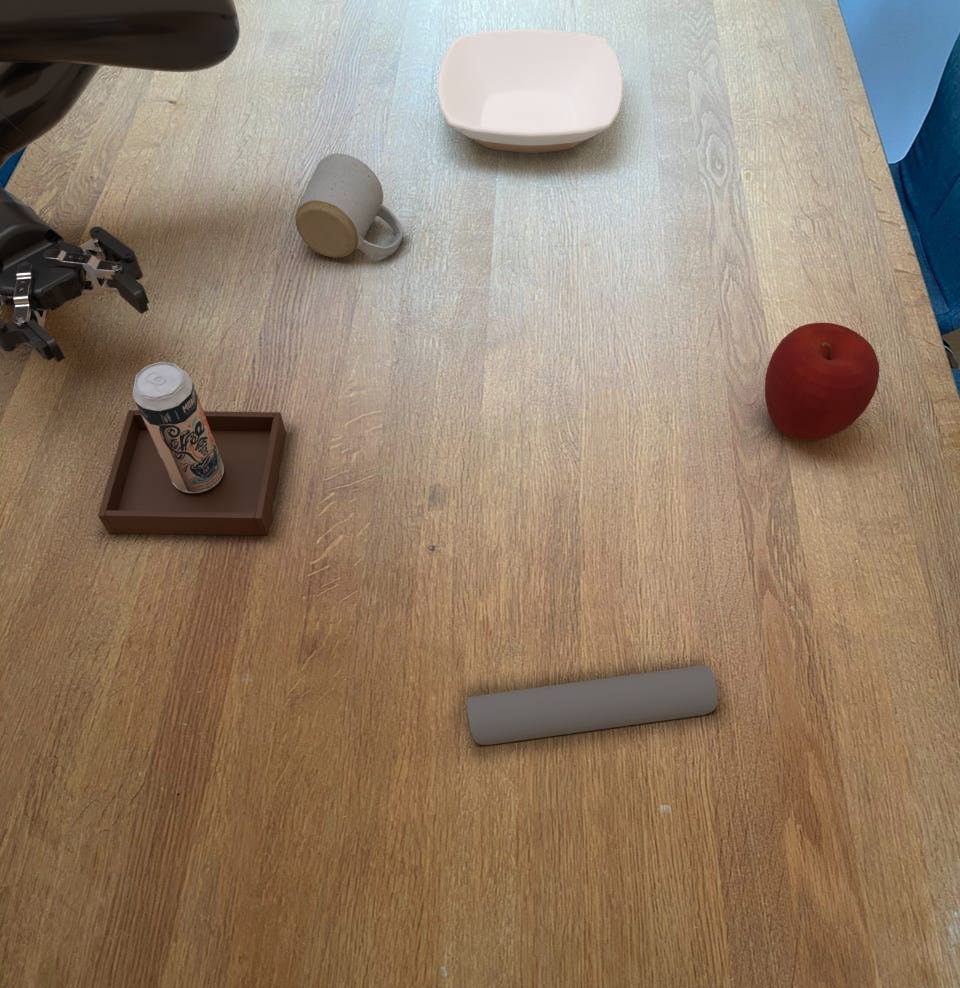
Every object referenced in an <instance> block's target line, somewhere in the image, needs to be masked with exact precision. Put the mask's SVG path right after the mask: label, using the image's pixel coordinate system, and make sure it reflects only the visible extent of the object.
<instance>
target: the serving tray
mask: <svg viewBox="0 0 960 988" xmlns="http://www.w3.org/2000/svg"><path fill="white" fill-rule="evenodd" d="M203 412H204V414H205V417H206V420H207V422H208V425H209V428H210V430H211V433H212V436H213V438H214V441H215V444H216V446H217V449H218V452H219V454H220V457H221V460H222V463H223V466H224V473H223V476H222V478H221V480H220V481H219V482H218V484H216V485H215V486H214V487H213V488H211V489H209V490H207V491H204V492H201V493H186V492H183V491H181V490H179V489H177V488H176V487H175V486H174V485H173V483H172V481H171V479H170V477H169V474H168V472H167V470H166V468H165V466H164V463H163V461H162V459H161V457H160V455H159V452H158V450H157V448H156V446H155V444H154V441H153V439H152V437H151V435H150V433H149V431H148V428H147V426H146V424H145V422H144V420H143V417H142V415H141V413H140V411H139V409H135V410H134V409H128V411H127V414H126V417H125V421H124V425H123V427H122V431H121V435H120V438H119V442H118V445H117V449H116V452H115V455H114V458H113V462H112V465H111V469H110V472H109V475H108V479H107V483H106V486H105V489H104V492H103V497H102V500H101V504H100V506H99V510H98V514H97V516H98V518H99V520H100V521H101V523H102V525H103V527H104V528H105V530H106V532H107V533H108V534H142V535H143V534H144V535H145V534H150V535H200V536H202V535H204V536H207V535H208V536H259V537H260V536H261V537H262V536H263V537H266V536H267V537H268V534H269V528H270V523H271V517H272V513H273V506H274V501H275V494H276V489H277V484H278V483H277V482H278V477H279V472H280V466H281V462H282V461H281V459H282V454H283V449H284V444H285V438H286V432H287V431H286V427H285V424H284V419H283V416H282V412H280V411H274V412H273V411H218V410H217V411H216V410H215V411H212V410H203Z"/></svg>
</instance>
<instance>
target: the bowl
mask: <svg viewBox="0 0 960 988" xmlns="http://www.w3.org/2000/svg"><path fill="white" fill-rule="evenodd" d="M623 93H624V77H623V72H622V67H621V63H620V61H619V58H618V56H617V53H616V51H615V50H614V48H613V47H612V46H611V45H610V43H609V42H608V41H607V40H606V39H605V38H604V37H601V36H598V35H597V36H596V35H592V34H588V33H585V32H576V31H568V30H567V31H566V30H557V29H539V28H520V29H518V28H516V29H515V28H514V29H499V30H497V29H496V30H485V31H484V30H483V31H478V32H473V33H468V34H463V35H459V36H458V37H456V38H455V40H454V41H453V42H452V43H451V44H450V46H449V47H448V48H447V49H446V50H445V52H444V56H443V58H442V60H441V63H440V67H439V71H438V75H437V100H438V104H439V110H440V112H441V114H442V115H443V117H444V119H445V121H446V122H447V124H448V125H449V126H450V127H452V128H453V129H455V130H456V131H458V132H459V133H462V134H463V135H465V136H466V137H468V138H470V139H471V140H474V141H475V142H476V143H478V144H480V145H481V146H483V147H485V148H487V149H491V150H499V151H505V152H511V153H512V152H513V153H524V154H525V153H526V154H530V153H531V154H532V153H533V154H534V153H535V154H536V153H549V152H559V151H565V150H568V149H572V148H574V147H576V146H577V145H580V144H581V143H583V142H585V141H587V140H589V139H591V138H593V137H595V136H596V135H599V134H600V133H602V132H604V131H606V130H607V129H609V128H610V127H611V126H612V125H613V123H614V122H615V120H616V118H617V117H618V115H619V114H620V110H621V106H622V102H623Z"/></svg>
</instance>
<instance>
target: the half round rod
mask: <svg viewBox="0 0 960 988" xmlns="http://www.w3.org/2000/svg"><path fill="white" fill-rule="evenodd" d="M718 691H719V690H718V686H717V682H716V679H715V675H714V673H713V671H712V669H711V668H710V667H709V666H708V665H704V664H702V665H694V666H687V667H680V668H679V667H678V668H671V669H664V670H657V671H650V672H649V671H648V672H643V673H633V674H627V675H620V676H612V677H606V678H605V677H604V678H598V679H591V680H583V681H576V682H568V683H561V684H554V685H546V686H539V687H531V688H525V689H516V690H510V691H501V692H494V693H487V694H481V695H480V694H479V695H472V696H468V697H466V699H465V700H466V704H465V705H466V713H467V717H468V718H467V720H468V726H469V730H470V734H471V736H472V738H473V740H474V742H475V743H477V744H478V745H483V746H491V745H497V744H504V743H511V742H512V743H513V742H519V741H525V740H533V739H541V738H547V737H554V736H556V737H557V736H563V735H570V734H577V733H582V732H592V731H597V730H598V731H599V730H606V729H612V728H620V727H626V726H627V727H628V726H634V725H640V724H642V725H643V724H649V723H654V722H662V721H671V720H677V719H684V718H692V717H698V716H705V715H707V714H710V713H712V712H713V711H714V710H716V708H717V706H718V702H719V693H718Z"/></svg>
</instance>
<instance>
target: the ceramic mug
mask: <svg viewBox="0 0 960 988" xmlns="http://www.w3.org/2000/svg"><path fill="white" fill-rule="evenodd" d="M383 201H384V191H383V186H382V184H381V181H380V179H379V178H378V176H377V175H376V173H375V172H374V171H373V170H372V168H370V167H369V166H368V165H367V164H366V163H365V162H363V161H361V160H360V159H359V158H357V157H355V156H353V155H350V154H346V153H331V154H328V155H326V156H324V157H322V159H321V160H320V161H319V162H318V163H317V166H316V167H315V169H314V171H313V174H312V176H311V178H310V179H309V181H308V183H307V186H306V189H305V190H304V192H303V194H302V196H301V198H300V200H299V203H298V205H297V208H296V213H295V219H294V220H295V227H296V230H297V232H298V235H299V236H300V238H301V239H302V241H303V242H304V243H305V244H306V245H307V247H309V248H310V249H312V250H313V251H314V252H316V253H318V254H320V255H322V256H325V257H329V258H344V257H348V256H349V255H351V254H352V253H353V252H354V251H355V250H360V252H362V253H364V254H365V255H368V256H372V257H375V258H386V257H389V256H392V255H393V254H394V253H396V251H397V250H398V249H399V247H400V244H401V242H402V240H403V237H404V236H403V235H404V230H403V226H402V223H401V222H400V221H399V219H398V217H397V216H396V215H395V214H394V213H393V212H392V211H391V210H390V209H389V208H387V206H385V205H383V204H384V203H383ZM377 217H378V218H380V219H381V220H383V221H384V222H386V224H387V225H389V227H390V228H391V229H392V231H393V233H394V235H395V239H394V240H393V241H392V243H390V244H388V245H385V246H380V245H377V244H374V243H371V242H369V241H368V240H366V239H364V238H365V237H366V234H367V233H368V231H369V229H370V228H371V226H372V224H373V222H374V221H375V220H376V218H377Z"/></svg>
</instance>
